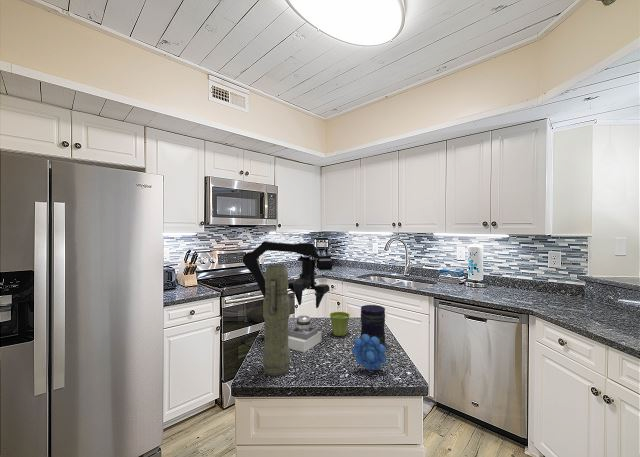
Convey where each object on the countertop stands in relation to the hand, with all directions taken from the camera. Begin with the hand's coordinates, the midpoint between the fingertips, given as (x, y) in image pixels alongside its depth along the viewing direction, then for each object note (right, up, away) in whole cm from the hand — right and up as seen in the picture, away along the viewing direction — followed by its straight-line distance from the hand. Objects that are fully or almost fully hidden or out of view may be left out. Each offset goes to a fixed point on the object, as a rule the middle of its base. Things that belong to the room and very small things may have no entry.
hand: (308, 306), depth 125 cm
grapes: (+21, -13, -31) cm, 40 cm away
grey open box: (-2, -13, -9) cm, 16 cm away
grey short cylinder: (-2, -9, -9) cm, 13 cm away
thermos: (-10, -13, -30) cm, 34 cm away
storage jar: (+27, -13, -9) cm, 31 cm away
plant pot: (+14, -13, +3) cm, 20 cm away
